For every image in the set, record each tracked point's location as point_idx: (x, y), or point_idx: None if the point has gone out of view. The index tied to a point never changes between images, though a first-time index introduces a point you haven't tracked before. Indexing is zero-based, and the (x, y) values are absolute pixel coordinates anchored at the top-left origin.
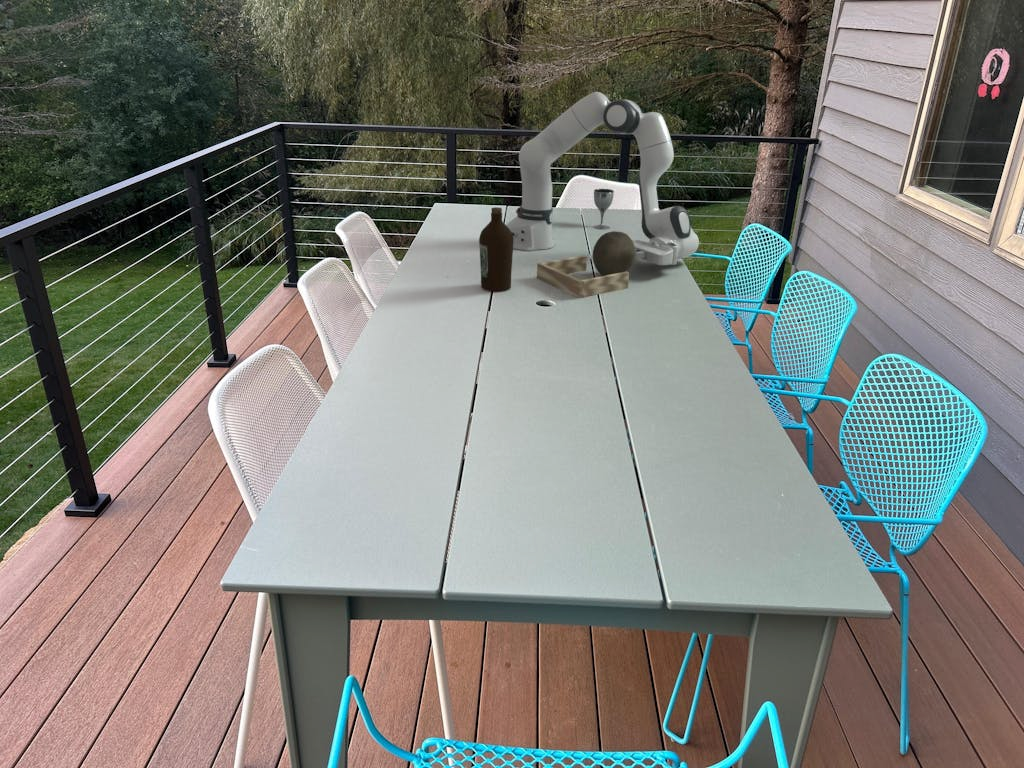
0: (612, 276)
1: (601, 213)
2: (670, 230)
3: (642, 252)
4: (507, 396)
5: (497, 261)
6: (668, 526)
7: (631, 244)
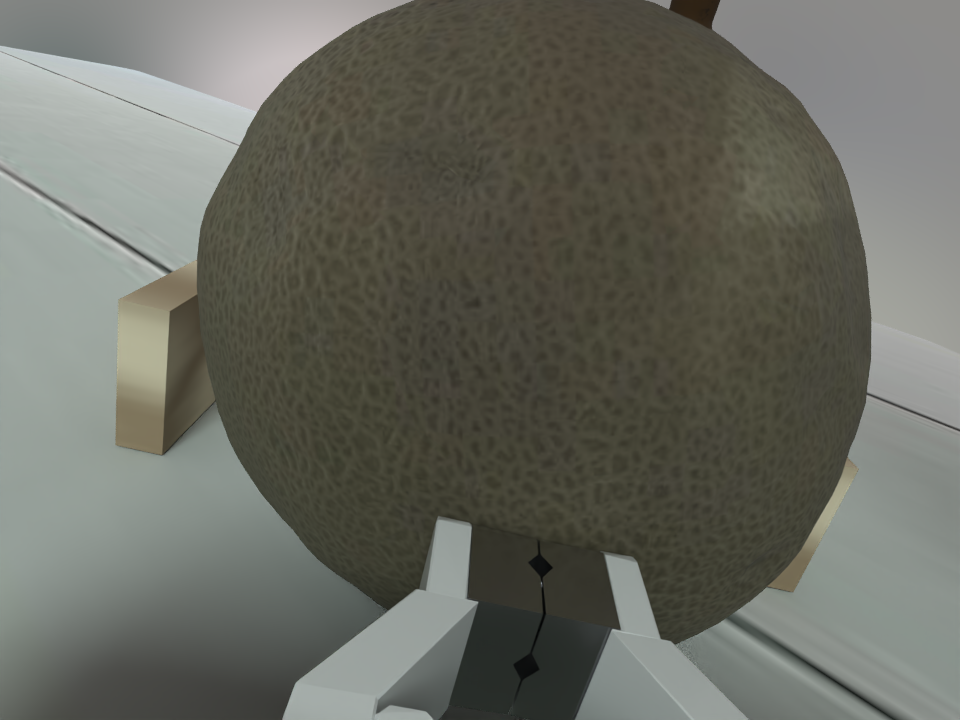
0: None
1: None
2: None
3: (297, 694)
4: (91, 101)
5: None
6: None
7: (281, 86)
